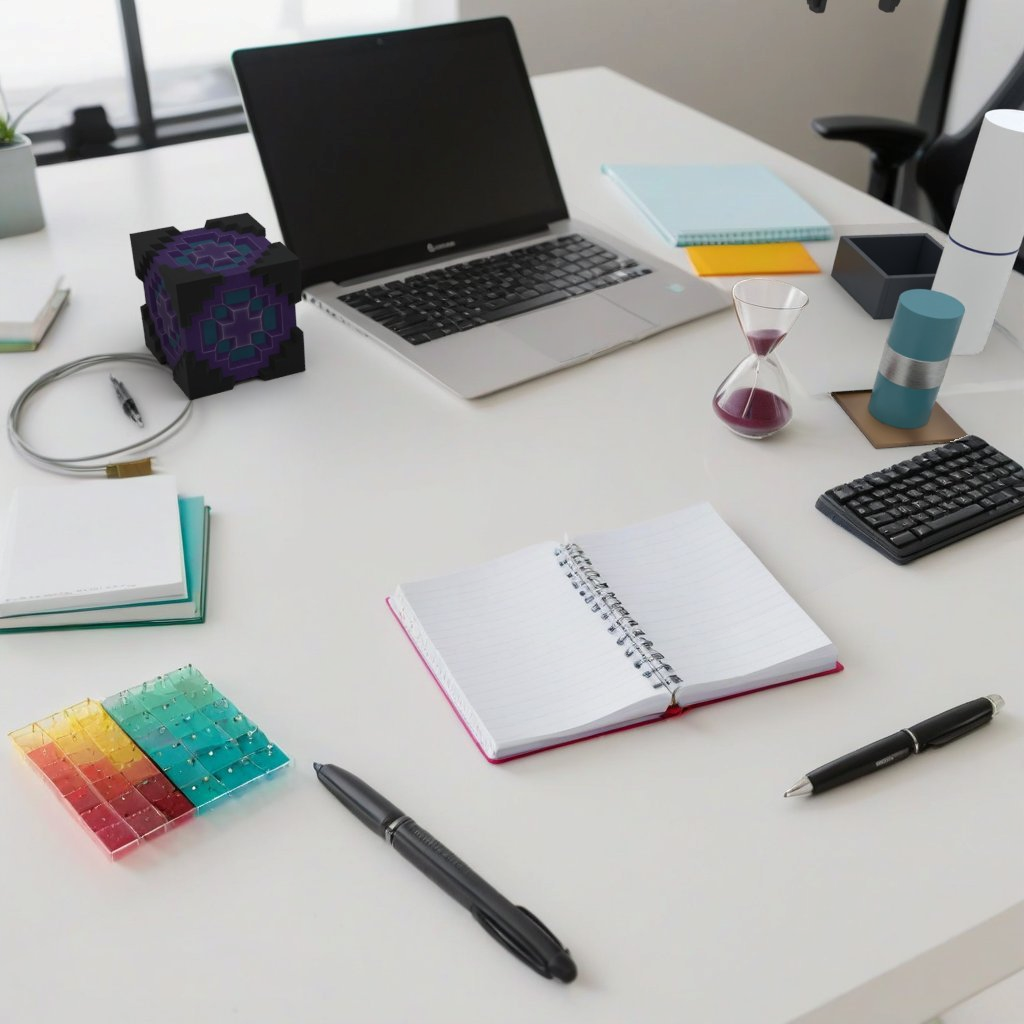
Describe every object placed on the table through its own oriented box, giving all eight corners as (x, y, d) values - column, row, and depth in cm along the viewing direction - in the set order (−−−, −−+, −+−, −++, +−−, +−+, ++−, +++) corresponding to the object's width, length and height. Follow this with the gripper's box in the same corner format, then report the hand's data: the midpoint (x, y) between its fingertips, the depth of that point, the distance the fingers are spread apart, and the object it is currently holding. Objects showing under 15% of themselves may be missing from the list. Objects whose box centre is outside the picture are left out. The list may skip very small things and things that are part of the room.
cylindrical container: (916, 356, 125) (988, 127, 110) (914, 327, 131) (982, 105, 116) (984, 367, 124) (1066, 138, 109) (979, 337, 130) (1056, 115, 115)
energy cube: (189, 400, 109) (175, 284, 102) (145, 345, 117) (129, 233, 110) (305, 370, 115) (299, 258, 108) (256, 319, 123) (247, 212, 116)
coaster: (918, 388, 120) (920, 384, 120) (969, 441, 112) (970, 437, 112) (830, 394, 118) (831, 390, 118) (875, 448, 110) (877, 444, 110)
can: (911, 394, 118) (944, 287, 111) (941, 427, 113) (978, 317, 106) (856, 398, 116) (887, 290, 109) (884, 431, 112) (918, 320, 105)
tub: (913, 278, 142) (927, 232, 138) (961, 322, 133) (977, 274, 129) (828, 282, 139) (840, 235, 136) (871, 327, 130) (885, 278, 127)
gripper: (847, -160, 109) (809, 22, 118) (974, -156, 112) (928, 20, 122) (808, -171, 114) (775, 3, 124) (930, -167, 118) (889, 1, 128)
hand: (851, 11), depth 123 cm, fingers open, 8 cm apart
